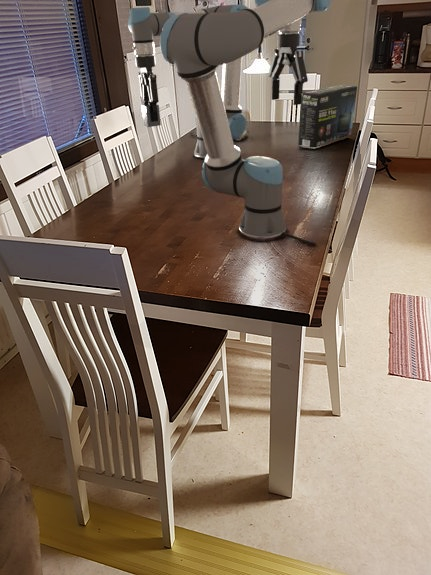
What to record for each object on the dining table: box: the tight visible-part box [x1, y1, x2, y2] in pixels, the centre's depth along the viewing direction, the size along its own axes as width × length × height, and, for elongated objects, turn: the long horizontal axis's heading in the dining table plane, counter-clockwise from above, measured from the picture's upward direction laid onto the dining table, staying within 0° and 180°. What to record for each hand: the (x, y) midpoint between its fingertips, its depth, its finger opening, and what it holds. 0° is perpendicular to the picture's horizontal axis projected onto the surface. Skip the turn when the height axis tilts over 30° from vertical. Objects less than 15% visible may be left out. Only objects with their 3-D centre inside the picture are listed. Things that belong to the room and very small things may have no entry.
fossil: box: [235, 127, 250, 142], centre depth 261 cm, size 18×11×15 cm
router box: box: [297, 84, 358, 151], centre depth 238 cm, size 36×11×27 cm, turn 134°
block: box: [141, 103, 162, 128], centre depth 183 cm, size 5×5×8 cm
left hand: (151, 119), depth 184 cm, fingers closed on block, 5 cm apart
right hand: (286, 102), depth 162 cm, fingers open, 13 cm apart
